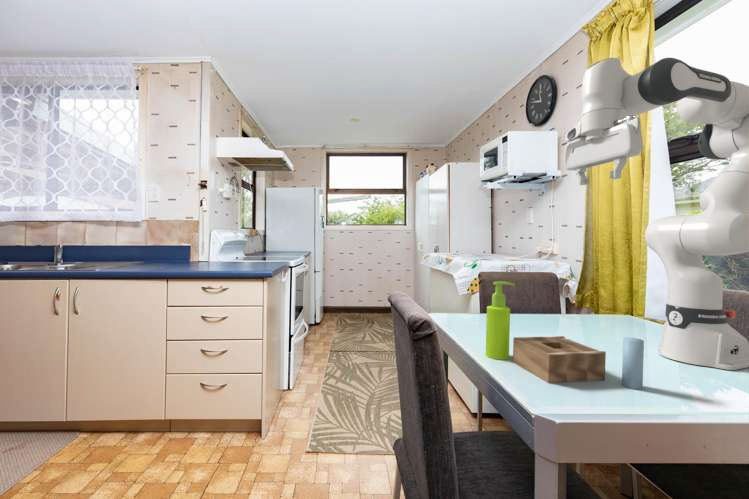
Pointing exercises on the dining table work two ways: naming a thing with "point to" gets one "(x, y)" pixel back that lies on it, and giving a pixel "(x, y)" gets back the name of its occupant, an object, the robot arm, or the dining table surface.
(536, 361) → the socket block
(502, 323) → the soap dispenser
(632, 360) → the dowel
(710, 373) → the dining table surface
